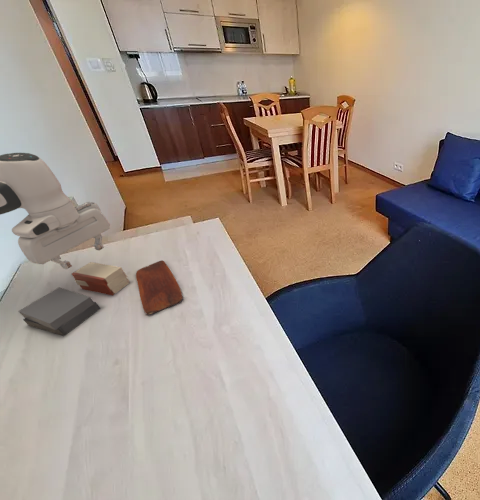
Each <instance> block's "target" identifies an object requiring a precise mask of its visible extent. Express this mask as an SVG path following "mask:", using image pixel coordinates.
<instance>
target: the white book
mask: <svg viewBox="0 0 480 500" xmlns="http://www.w3.org/2000/svg"><path fill="white" fill-rule="evenodd" d="M124 272H125V271H124V269H123V268H122V267H121V266H116V265H111V264H110V265H109V264H105V263H98V262H93V261H90V262H88V263H87V264H85V265H83V266H82V267H80V268H78V269H76V270H75V271H73V272H72V273H71V276H72V277H73V279H74V280H75V279H78V280H83V281H88V282H93V283H98V284H103V285H107V284H108V283H110V282H111V281H113V280H114V279H115V278H117V277H118V276H120V275H121V274H123V273H124Z"/></svg>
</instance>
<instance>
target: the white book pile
mask: <svg viewBox="0 0 480 500" xmlns="http://www.w3.org/2000/svg"><path fill="white" fill-rule="evenodd" d="M74 282H75V283H76V284H77V285H78V286H79V287H80V288H81V289H82V290H84V291H88V292H93V293H98V294H102V295H108V296H113V297H114V296H115V294H117V293H119V291H121V290H122V289H124V288H125V287H126V286H127V285H129V284H130V283H131V282H130V280H129V278H128V276H127V274H126V272H125V271H124V273H123V274H121V275H120V276H118V277H117V278H115V279H114V280H113V281H111V282H110V283H108V284H107V285H103V284H98V283H93V282H88V281H83V280H78V279H75V278H74Z"/></svg>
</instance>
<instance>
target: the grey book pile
mask: <svg viewBox="0 0 480 500" xmlns="http://www.w3.org/2000/svg"><path fill="white" fill-rule="evenodd" d="M99 310H101V307H100V305H99V304H98V303H97V301H94V299H92V297H91V296H89V295H87V294H86V295H85V294H82V293H79V292H77V291H73V290H70V289H67V288H64V287H60V286H58V287H57V288H55V289H53V290H51V291H50V292H48V293H46V294H45V295H43V296H42V297H40V298H38V299H36V300H35V301H33V302H30V304H28V305H26V306H24V307H23V308H21V309H19V310H18V311H17V312H18V313H19V314H20V315H21V316H22V317H23V319H22V320H23V322H25V324H27V326H29V327H31V328H35V329H39V330H41V331H44V332H49V333H51V334H52V333H53V334H57V335H60V336H63V337H65V336H66V335H67V334H69V333H70V332H72V331H73V330H75V328H77V327H78V326H80V325H81V324H82V323H83V322H85V321H86V320H88V318H90V317H91V316H93V315H94V314H95V313H96V312H98V311H99Z"/></svg>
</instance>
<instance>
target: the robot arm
mask: <svg viewBox="0 0 480 500" xmlns="http://www.w3.org/2000/svg"><path fill="white" fill-rule="evenodd" d="M17 209H24V210H25V211H26V212H27V215H26V216H25V217H24V218H23V219H22V220H20V221H19V222H18V223H16V224H15V225H14V226H13V227H12V228H11V233H12V234H13V235H14V236H17V237H18V239H17V245H18V247H19V248H20V250H21V252H22V253H23V255H24V256H25V258H26V259H27V260H28V262H30V263H32V264H37V265H45V264H46V263H49V262H50V261H51V262H52V263H56V264H58V265H60V267H61V268H62V269H64V270H68V269H69V268H72V267H73V265H72V264H71V261H69V260H61V259H62V258H61V256H62V255H64V254H65V253H67V252H69V251H71V250H73V249H75V248H77V247H79V246H81V245H82V244H84V243H86V242H88V241H89V240H92V239H94V244H92V246H93V248H94V249H95V251H101V250H103V249H104V244H102V243H103V235H102V234H103V233H105V232H107V231H108V230H110V229H111V223H110V222H109V220H108V219H107V217H106V216H105V215H104V213H102V211H101V208H100V207H99V205H98V204H97V203H95V202H93V201H86V202H84V203H82V204H79V205H77V206H75V205H74V203H73V202H72V200H71V199H70V197H69V196H67V194H65V193H64V191H63V189H62V185H61V182H60V181H59V179H58V178H57V176H56V174H55V173H54V172H53V170H51V168H50V167H49V165H48V164H47V163H46V162H45V161H44V160H43V159H42V158H41V157H39V156H38V155H36V154H33V153H29V152H12V153H3V154H0V216H1V215H4V214H7V213H11V212H13V211H15V210H17Z"/></svg>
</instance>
